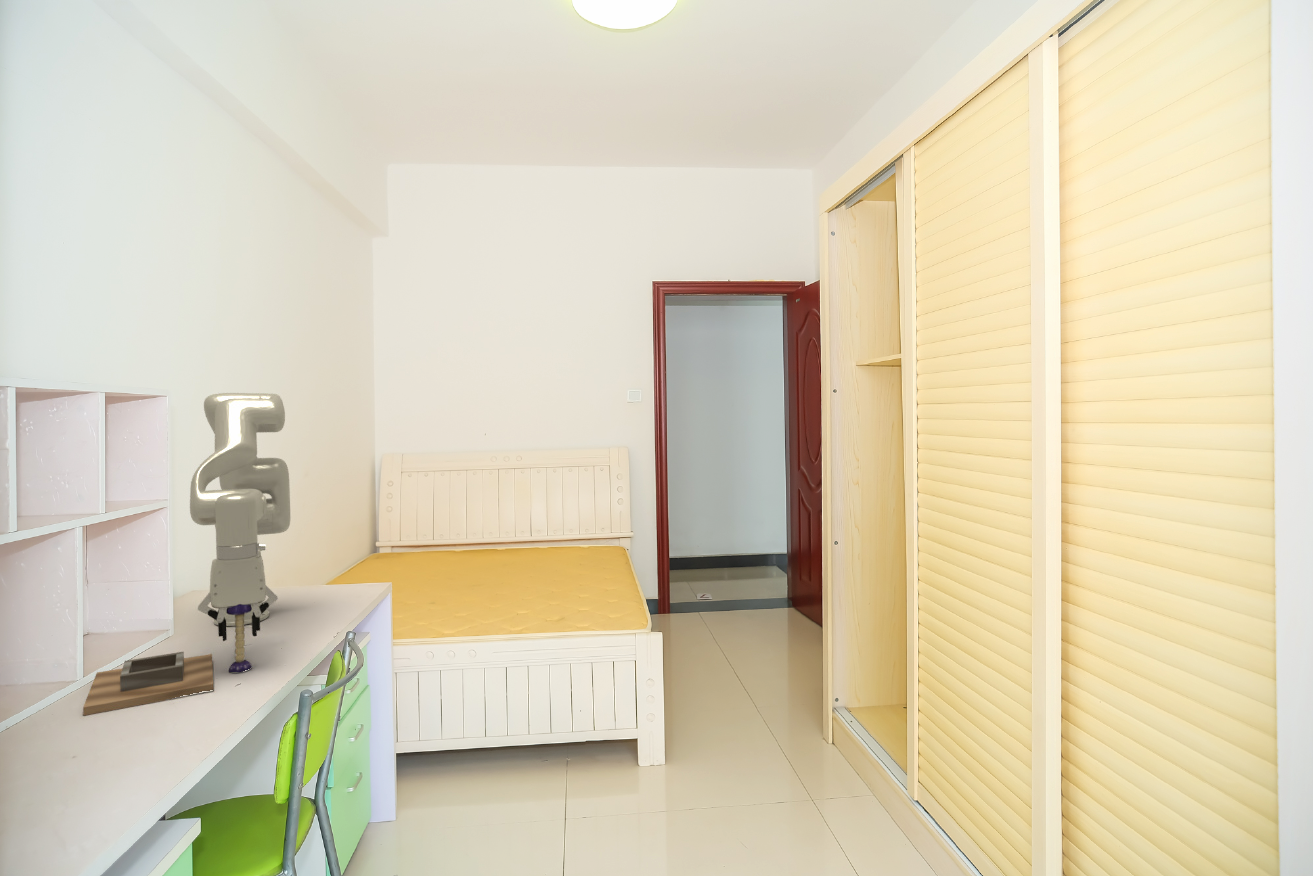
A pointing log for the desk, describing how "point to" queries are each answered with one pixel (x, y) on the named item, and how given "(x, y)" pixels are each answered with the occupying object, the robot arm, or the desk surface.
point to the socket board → (149, 681)
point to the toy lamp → (239, 637)
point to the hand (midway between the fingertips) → (239, 636)
